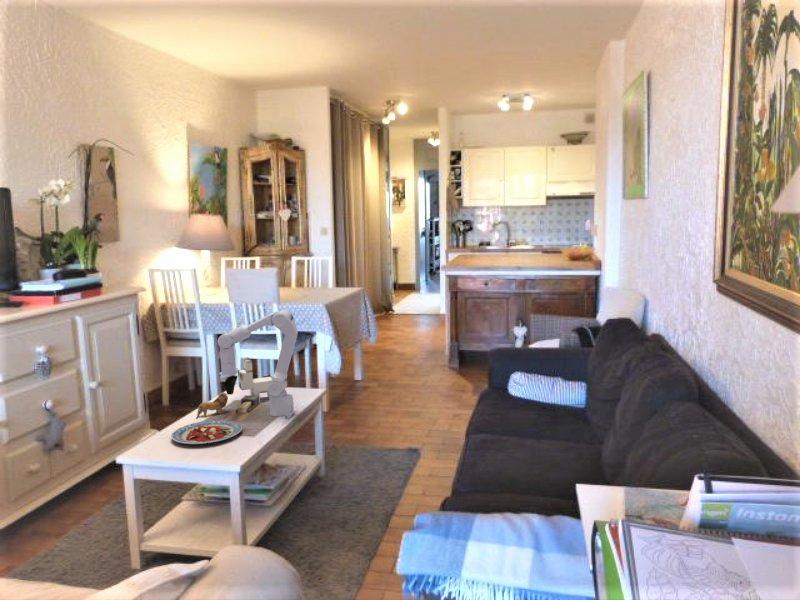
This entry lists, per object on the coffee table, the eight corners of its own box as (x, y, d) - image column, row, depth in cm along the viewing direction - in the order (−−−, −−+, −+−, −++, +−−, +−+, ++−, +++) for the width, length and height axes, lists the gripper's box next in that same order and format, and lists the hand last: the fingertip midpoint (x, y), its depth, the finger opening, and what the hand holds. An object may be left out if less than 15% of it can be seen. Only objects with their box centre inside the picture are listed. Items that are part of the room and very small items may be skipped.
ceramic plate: (158, 448, 225) (157, 440, 224) (192, 424, 250) (191, 417, 249) (225, 450, 221) (224, 442, 220) (253, 426, 246) (252, 418, 245)
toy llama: (282, 400, 278) (280, 357, 275) (243, 407, 270) (240, 362, 268) (278, 396, 284) (275, 354, 282) (239, 402, 277) (236, 358, 274)
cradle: (262, 405, 272) (262, 395, 271) (244, 422, 250) (244, 411, 249) (242, 405, 273) (242, 395, 272) (223, 422, 251) (222, 411, 250)
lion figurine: (225, 411, 265) (224, 390, 264) (231, 413, 261) (230, 393, 260) (192, 419, 255) (191, 398, 254) (198, 422, 251) (197, 400, 250)
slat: (254, 404, 270) (254, 399, 270) (245, 413, 258) (244, 407, 258) (248, 404, 271) (247, 399, 270) (238, 413, 259) (237, 407, 258)
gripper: (225, 358, 263) (227, 389, 265) (211, 366, 249) (214, 399, 250) (241, 358, 262) (243, 389, 264) (228, 366, 248) (230, 399, 250)
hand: (230, 394), depth 257 cm, fingers closed
